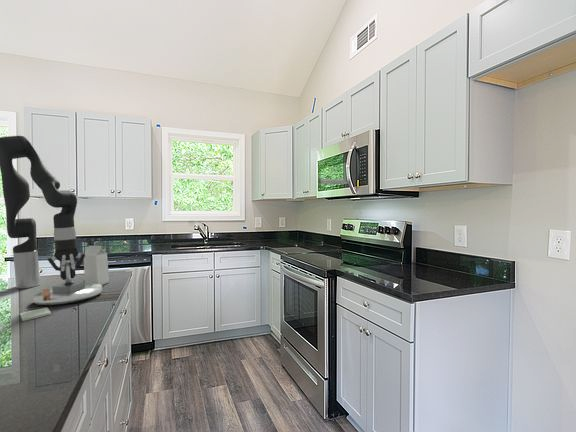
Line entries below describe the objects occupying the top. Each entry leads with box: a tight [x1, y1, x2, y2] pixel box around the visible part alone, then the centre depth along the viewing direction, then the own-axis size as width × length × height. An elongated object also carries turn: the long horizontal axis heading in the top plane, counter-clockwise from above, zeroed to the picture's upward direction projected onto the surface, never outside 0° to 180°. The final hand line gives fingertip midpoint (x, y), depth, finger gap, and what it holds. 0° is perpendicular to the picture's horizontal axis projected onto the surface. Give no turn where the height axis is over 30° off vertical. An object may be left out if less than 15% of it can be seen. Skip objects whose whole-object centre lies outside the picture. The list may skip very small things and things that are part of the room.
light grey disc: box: [32, 281, 103, 306], centre depth 135 cm, size 24×24×6 cm
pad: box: [19, 307, 52, 322], centre depth 116 cm, size 8×8×1 cm
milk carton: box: [83, 245, 110, 286], centre depth 155 cm, size 7×7×19 cm
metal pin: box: [64, 260, 73, 285], centre depth 135 cm, size 4×4×13 cm
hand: (68, 278), depth 135 cm, fingers closed on metal pin, 2 cm apart
